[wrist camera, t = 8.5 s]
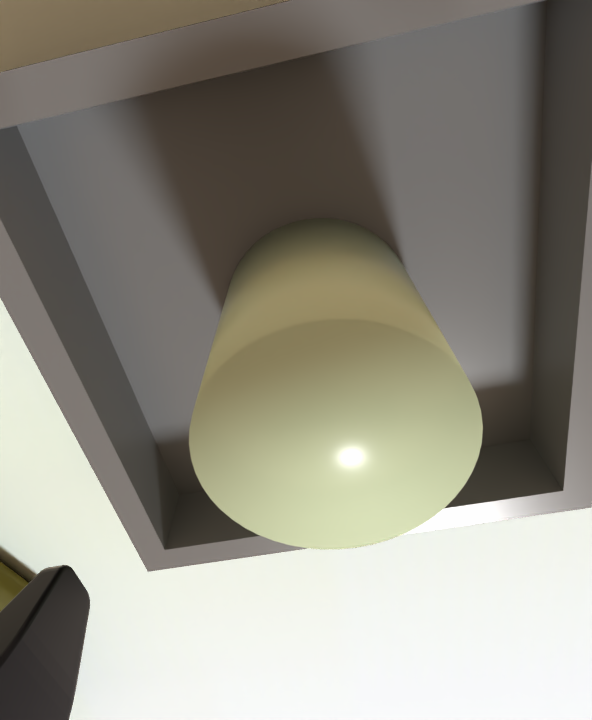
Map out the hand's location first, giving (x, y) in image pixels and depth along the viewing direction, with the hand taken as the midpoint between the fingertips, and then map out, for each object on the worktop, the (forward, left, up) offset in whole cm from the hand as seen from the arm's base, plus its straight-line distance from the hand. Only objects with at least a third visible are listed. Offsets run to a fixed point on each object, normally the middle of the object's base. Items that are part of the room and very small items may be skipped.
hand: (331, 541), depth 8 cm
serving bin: (0, 0, -10) cm, 10 cm away
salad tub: (0, 0, -9) cm, 9 cm away
